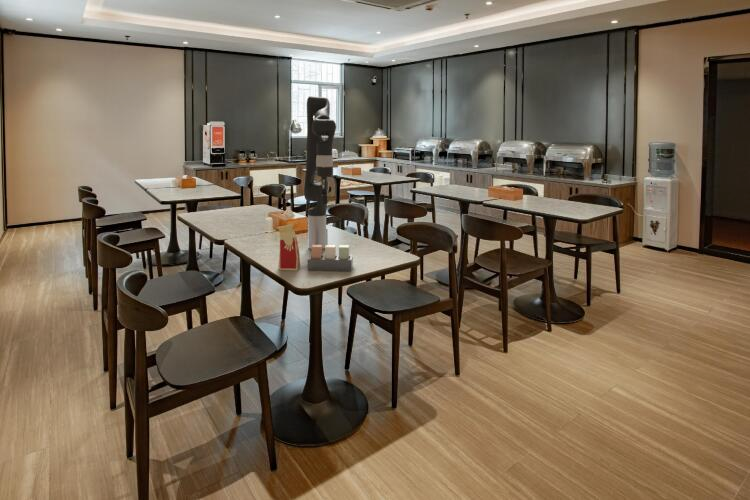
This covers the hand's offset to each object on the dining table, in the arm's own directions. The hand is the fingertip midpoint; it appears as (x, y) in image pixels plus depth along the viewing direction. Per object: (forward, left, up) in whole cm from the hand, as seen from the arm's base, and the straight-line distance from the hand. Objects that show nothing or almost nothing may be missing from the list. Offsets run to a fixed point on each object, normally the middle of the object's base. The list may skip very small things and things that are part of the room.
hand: (325, 203), depth 233 cm
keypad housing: (+9, +11, -27) cm, 30 cm away
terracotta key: (+13, +6, -24) cm, 28 cm away
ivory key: (+9, +11, -24) cm, 28 cm away
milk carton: (+20, -4, -27) cm, 34 cm away
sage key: (+6, +16, -24) cm, 29 cm away
